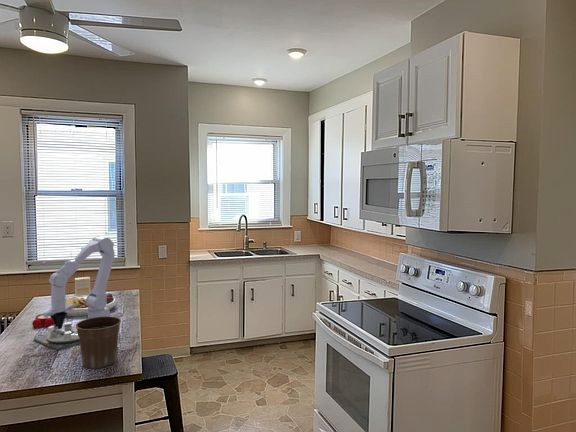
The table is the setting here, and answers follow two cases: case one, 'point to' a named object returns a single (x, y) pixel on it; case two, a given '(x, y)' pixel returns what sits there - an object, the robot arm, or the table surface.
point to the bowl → (85, 305)
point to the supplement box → (82, 286)
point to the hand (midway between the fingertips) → (58, 328)
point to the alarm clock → (42, 321)
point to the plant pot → (98, 341)
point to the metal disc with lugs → (62, 334)
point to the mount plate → (55, 345)
